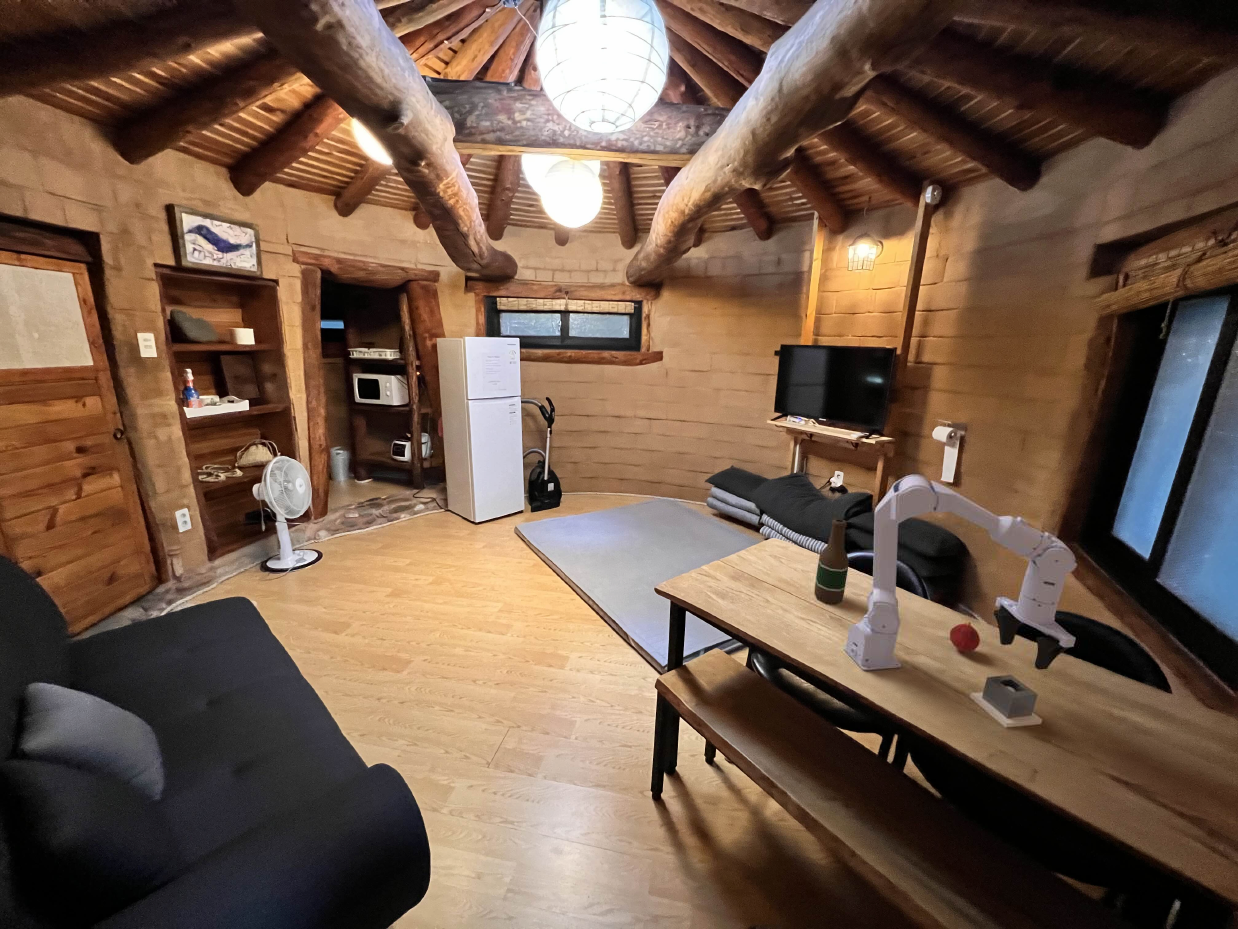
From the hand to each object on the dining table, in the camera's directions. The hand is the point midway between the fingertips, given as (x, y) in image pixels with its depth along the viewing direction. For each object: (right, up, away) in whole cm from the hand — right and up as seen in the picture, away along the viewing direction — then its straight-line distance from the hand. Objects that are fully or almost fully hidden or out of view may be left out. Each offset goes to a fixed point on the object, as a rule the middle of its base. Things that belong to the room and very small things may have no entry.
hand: (1022, 655), depth 97 cm
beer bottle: (-23, +1, +39) cm, 45 cm away
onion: (0, -6, +17) cm, 18 cm away
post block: (-5, -11, -1) cm, 12 cm away
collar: (-5, -10, -2) cm, 11 cm away
